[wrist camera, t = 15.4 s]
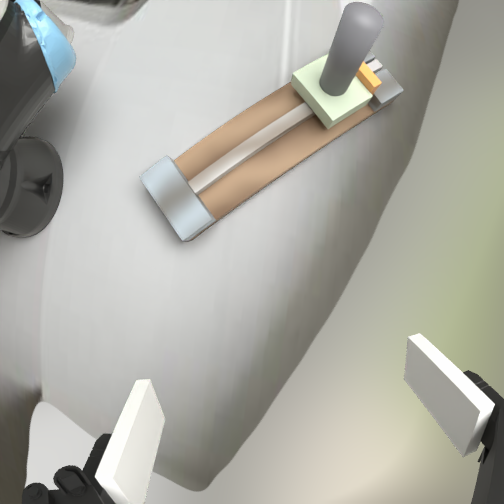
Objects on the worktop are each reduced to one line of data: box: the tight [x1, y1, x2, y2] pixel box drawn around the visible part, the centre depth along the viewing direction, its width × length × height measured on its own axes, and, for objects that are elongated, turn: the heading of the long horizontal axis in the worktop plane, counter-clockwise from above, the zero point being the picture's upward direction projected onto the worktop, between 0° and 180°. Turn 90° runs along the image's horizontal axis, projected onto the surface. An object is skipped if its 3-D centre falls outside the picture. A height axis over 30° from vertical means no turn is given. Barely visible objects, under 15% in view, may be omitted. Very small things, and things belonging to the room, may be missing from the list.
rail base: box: [140, 51, 404, 241], centre depth 36 cm, size 9×32×4 cm, turn 126°
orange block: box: [356, 59, 383, 95], centre depth 31 cm, size 6×5×4 cm
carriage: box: [291, 2, 384, 129], centre depth 26 cm, size 7×6×16 cm
